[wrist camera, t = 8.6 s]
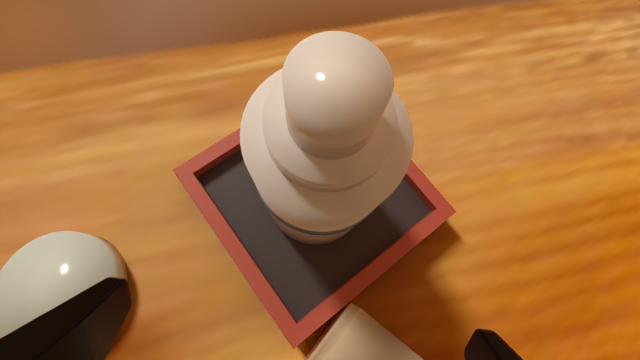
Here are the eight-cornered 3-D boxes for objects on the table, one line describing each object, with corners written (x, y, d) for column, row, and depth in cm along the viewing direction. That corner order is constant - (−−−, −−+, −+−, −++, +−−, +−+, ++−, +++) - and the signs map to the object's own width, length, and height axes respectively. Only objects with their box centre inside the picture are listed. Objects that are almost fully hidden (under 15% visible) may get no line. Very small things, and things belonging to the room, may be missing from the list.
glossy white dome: (145, 309, 18) (131, 312, 16) (32, 371, 16) (6, 380, 15) (108, 216, 19) (93, 211, 18) (3, 267, 18) (-23, 266, 16)
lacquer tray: (442, 217, 20) (456, 211, 18) (294, 341, 17) (293, 349, 16) (330, 85, 22) (333, 70, 21) (183, 179, 20) (172, 170, 18)
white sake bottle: (379, 180, 19) (493, 44, 8) (334, 264, 18) (395, 248, 6) (298, 136, 20) (295, -52, 8) (248, 214, 18) (159, 114, 7)
